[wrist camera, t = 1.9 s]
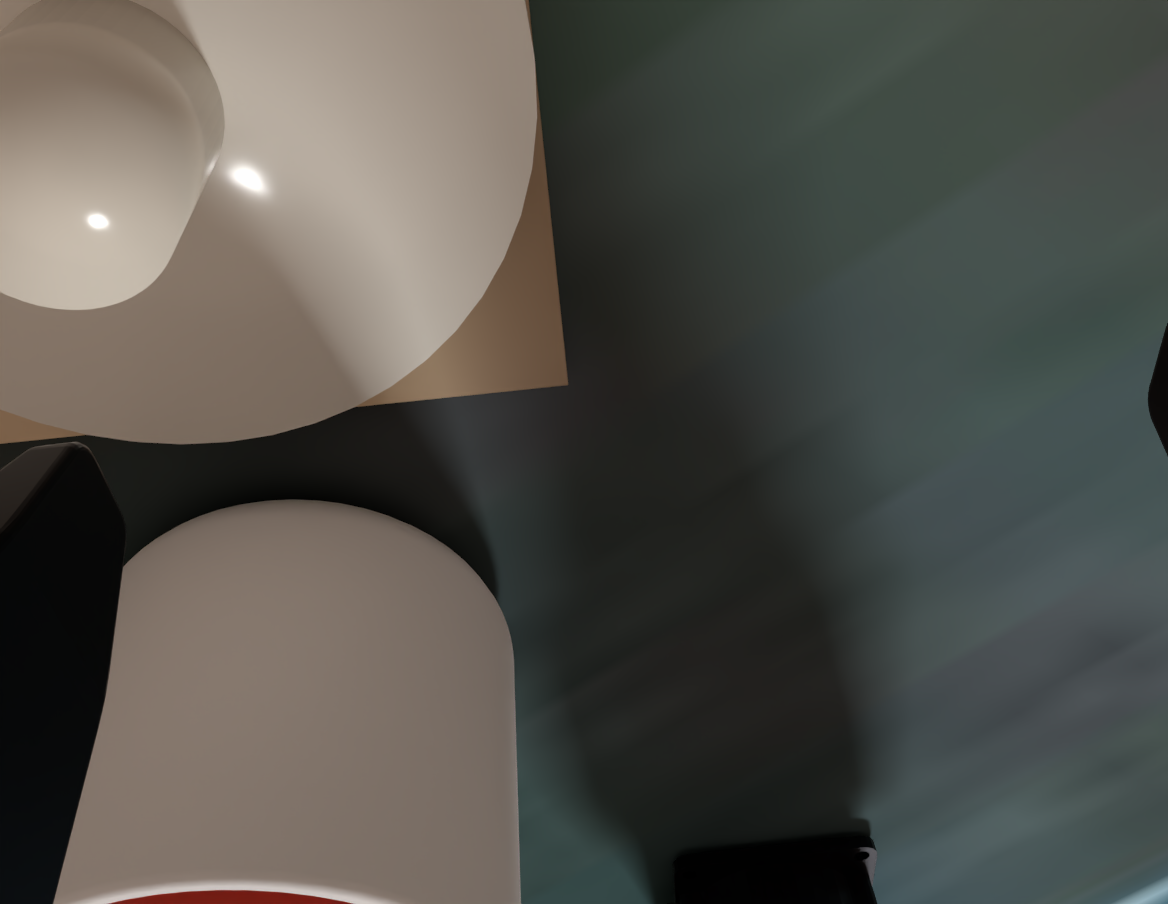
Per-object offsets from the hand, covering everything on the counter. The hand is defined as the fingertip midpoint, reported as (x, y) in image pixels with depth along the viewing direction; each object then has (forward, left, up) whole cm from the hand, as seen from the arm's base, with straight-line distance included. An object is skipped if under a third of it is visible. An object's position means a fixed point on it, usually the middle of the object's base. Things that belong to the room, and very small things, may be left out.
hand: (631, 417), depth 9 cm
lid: (+7, +1, -12) cm, 14 cm away
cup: (+7, +15, -13) cm, 21 cm away
